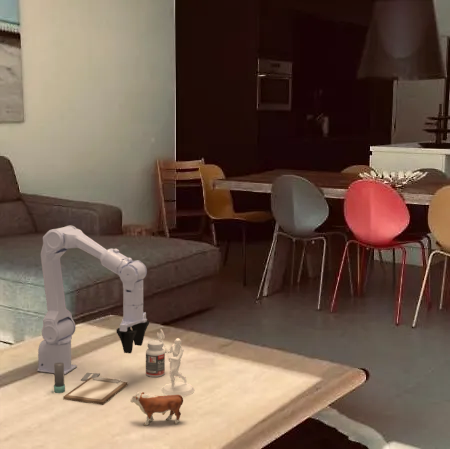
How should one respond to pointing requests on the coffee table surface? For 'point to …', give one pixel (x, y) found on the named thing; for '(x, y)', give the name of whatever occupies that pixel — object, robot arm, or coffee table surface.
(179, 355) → the figurine
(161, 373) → the pill bottle
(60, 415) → the coffee table surface
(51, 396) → the coffee table surface
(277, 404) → the coffee table surface
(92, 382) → the brown picture frame
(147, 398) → the bull figurine
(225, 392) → the coffee table surface
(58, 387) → the marker
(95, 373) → the grey slotted plate
